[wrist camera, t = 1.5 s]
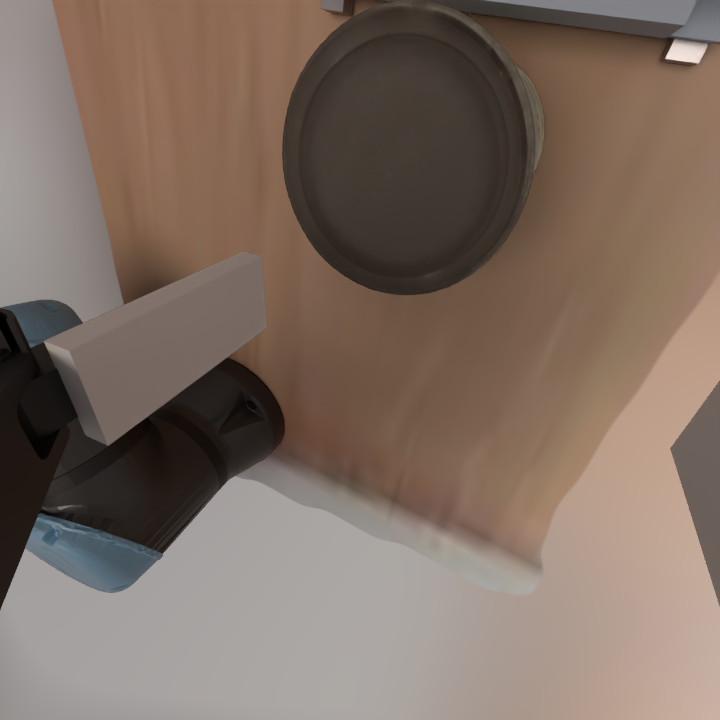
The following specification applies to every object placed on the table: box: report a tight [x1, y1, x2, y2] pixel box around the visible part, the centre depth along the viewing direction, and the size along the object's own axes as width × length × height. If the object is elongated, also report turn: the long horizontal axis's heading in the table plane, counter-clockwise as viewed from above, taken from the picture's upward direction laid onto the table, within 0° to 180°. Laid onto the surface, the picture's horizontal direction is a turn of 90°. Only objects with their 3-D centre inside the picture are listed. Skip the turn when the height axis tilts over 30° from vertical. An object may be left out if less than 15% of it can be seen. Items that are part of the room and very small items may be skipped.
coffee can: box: [282, 0, 544, 295], centre depth 21 cm, size 10×10×14 cm
